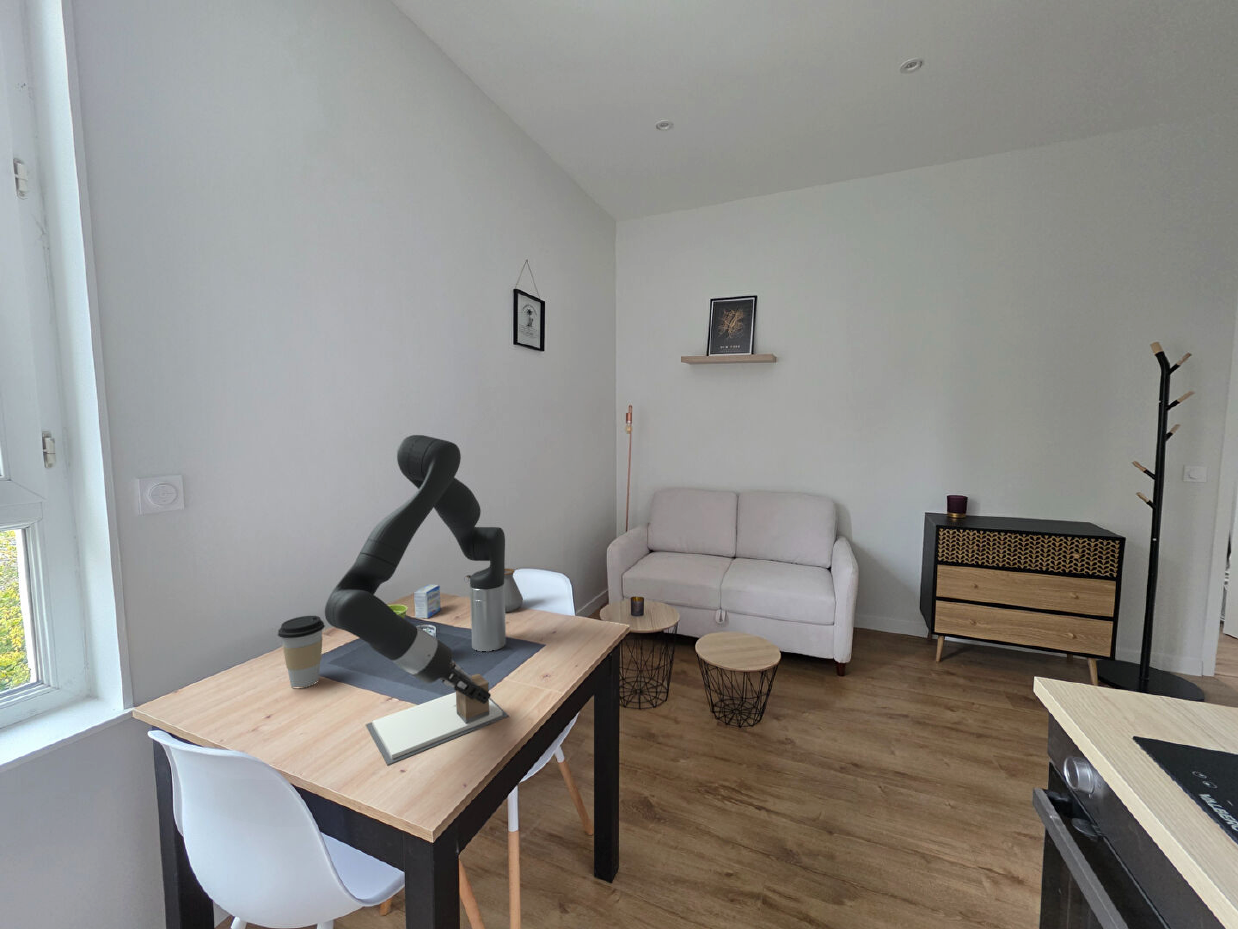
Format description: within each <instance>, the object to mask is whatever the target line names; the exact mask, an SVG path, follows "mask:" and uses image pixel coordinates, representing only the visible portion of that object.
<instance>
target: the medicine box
mask: <svg viewBox="0 0 1238 929" xmlns="http://www.w3.org/2000/svg"><path fill="white" fill-rule="evenodd" d="M413 594H414V596H413V597H414V608H415V609H414V614H415V617H414V618H415V619H416V618H417V619H426V620H428V619H429V618H431V617H432V616H434V615H436V614H437V613H438V612H440V611H441V586H440V585H439V584H427V585H426V586H423V587H422V588H420V589H418V590H416V591H415V592H414V593H413ZM433 614H434V615H433Z"/></svg>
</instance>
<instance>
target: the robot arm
mask: <svg viewBox="0 0 1238 929" xmlns="http://www.w3.org/2000/svg"><path fill="white" fill-rule="evenodd" d="M461 455H462V454H461V450H460V448H459V446H458V445H457V444H456V443H454V442H452V441H449V440H445V439H440V438H437V437H436V438H435V437H432V436H428V435H423V434H412V435H409V436H406V437H405V438H403V439H402V440H401V442H400V443H399V446H398V448H397V454H396V459H397V465H398V467H399V470H400V472H401V473H402V475H403V476H404V477H405V478H406V479H408V481H409V482H411V483H412V484H413V485H414V486H415V487H416V488H417V489H418V490H417V491H416V492H415V493H414V494H413V495H412V496H411V497H410V498H409V499H408V500H407V501H406V502H405V503H403V504H401V506H399V507H398V508H396V509H395V510H394V511H392V512H390V514H389V515H387V516H385V517H384V518H383V519H382V520H381V521H380V522H379V523H378V524H376V526H375V527H374V528H373V529H372V531H371V532H370V534H369V536H368V537H367V539H366V540H365V543H364V544H363V547H362V548H361V550H360V551H359V554H358V555H357V557H356V559H355V561H354V563H353V564H352V566H351V567H350V568H349V569H348V571H347V572H345V574H344V576H342V578H341V579H340V580H339V582H338V583H337V585H336V586H335V587H334V589H333V590H332V592H331V593H330V595H329V597H328V599H327V600H326V604H325V606H324V617H325V620H326V622H328V624H329V626H331V627H332V628H333V627H334V628H336V629H339V630H342V631H345V632H347V633H350V634H352V635H354V636H355V637H357V638H359V639H361V640H362V641H364V642H366V643H367V644H369V646H370V647H371V648H372V649H373V650H374V651H376V652H377V653H379V654H380V655H382V656H384V657H385V658H387V659H388V660H390V661H391V662H393V663H394V664H395V665H397V667H399V668H400V669H401V670H403V671H405V672H407V673H408V674H410V675H412V676H413V677H414V678H416V679H418V680H419V681H421V682H424V683H425V684H432V683H433V684H434V683H435V682H437V681H438V680H440V681H441V683H443V684H444V685H445V686H446V687H451V688H453V690H454V691H455V692H456V691H458V692H459V693H462V694H464V695H466V696H467V697H469V698H470V699H473V700H474V698H475V699H477V700H478V701H480V702H481V703H483V704H485V703H486V702H487V701H488V699H489V698H491V696H492V695H491V693H490V691H489V692H487V691H486V690H484V689H483V688H481V687H480V686H479V684H476V683H475V682H473V681H472V680H471V679H472V678H471V676H472V675H469V674H468V673H467V672H465V670H463V668H462V667H461V666H459V665H458V664H457V663H456V662H455V661H453V651H452V648H451V647H449V646H448V645H446V644H445V643H443V642H442V641H441V640H440V639H438V638H436V636H433V635H432V634H430V633H429V632H427V630H424V629H422V628H419V627H417V626H416V625H414V624H413V623H412V622H410V621H408V620H407V619H406V618H402V617H401V616H399V615H397V614H396V613H395V612H394V611H393V610H392V609H391V608H390V607H389V606H388V605H387V603H385V602H384V601H383V600H382V599H380V598H379V597H378V596H376V595H375V593H376V592H377V590H378V589H379V588H380V586H381V585H382V584H383V583H385V582H388V581H389V580H390V579H391V578H392V577H393V575H394V574H395V571H396V570H397V568H398V566H399V564H400V562H401V560H402V558H403V556H404V554H405V553H406V551H407V548H408V546H409V545H410V542H411V541H412V539H413V538H414V536H415V534H416V533H417V531H418V530H419V528H420V527H421V525H422V524H423V523H424V522H425V520H426V518H427V517H428V515H429V514H430V513H431V512H432V510H433V509H434V510H435V512H436V513H437V515H438V516H439V517H440V519H441V520H442V522H443V523H444V524H445V525H446V526H447V527H448V529H449V530H450V532H451V533H452V535H453V536H454V538H455V540H456V541H457V543H458V545H459V547H460V549H461V552H462V554H463V555H464V556H465V558H466V559H468V560H469V561H473V562H474V561H476V562H489V566H488V567H487V568H484V569H482V570H478V571H476V572H474V573H473V574H470V576H471V577H470V578H469V589H470V590H469V591H470V621H471V622H470V623H471V624H470V625H471V649H473V650H475V651H476V650H477V652H482V651H486V652H493V651H492V650H494V651H497V650H500V649H502V648H503V647H504V646H506V644H507V637H506V634H507V632H506V612H505V587H504V573H505V569H506V567H505V564H506V563H505V561H506V560H505V557H506V536H505V532H504V530H503V529H502V528H501V527H499V526H498V527H497V526H476V525H477V524H478V522H479V520H480V517H481V512H482V509H481V506H480V504H479V501H478V500H477V498H476V496H475V495H474V493H473V491H471V489H470V488H469V487H468V486H467V485H466V484H465V483H463V482H462V481H460V480H459V479H457V478H456V475H457V472H458V471H459V468H460V465H461V458H462V456H461Z"/></svg>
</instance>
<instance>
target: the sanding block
mask: <svg viewBox="0 0 1238 929" xmlns="http://www.w3.org/2000/svg"><path fill="white" fill-rule="evenodd" d="M470 676H471V678H472V679H471V680H472V681H473V682H475V683H476V684H479V686H480V687H481V688H483V689H484V690H486V691H487V692H489V693H490V691H489V687H490V686H489V682H488V681H487V680H486V679H485V678H484V677H483V676H482V675H481V674H480V673H477V674H472V675H470ZM455 692H456V710H457V714H458V715H459V717H460V718H461V719H462V720H463V721H464V722H465V723H466V724H468V723H470V722H473V721H475V720H478V719H480V718H483V717H486V716H488V715H489V699H488V701H487V702H486V703H485V704H483V703H481V702H480V701H478V700H477V699H475V698H474V700H473V699H470V698H469V697H467V696H466V695H464V694H462V693H459V692H458V691H456V690H455Z"/></svg>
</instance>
